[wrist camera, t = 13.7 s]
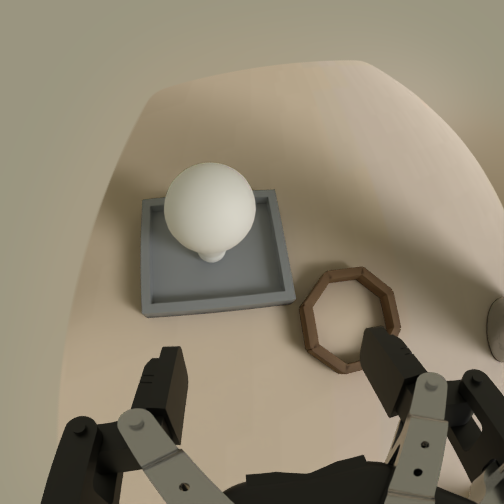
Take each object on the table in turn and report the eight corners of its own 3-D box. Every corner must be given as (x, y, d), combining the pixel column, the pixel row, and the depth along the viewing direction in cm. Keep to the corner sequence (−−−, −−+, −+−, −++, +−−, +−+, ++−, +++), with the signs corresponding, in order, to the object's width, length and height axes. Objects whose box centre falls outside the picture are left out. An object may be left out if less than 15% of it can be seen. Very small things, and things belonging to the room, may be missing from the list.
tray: (271, 200, 30) (274, 189, 28) (290, 303, 26) (296, 298, 24) (146, 210, 28) (142, 199, 27) (147, 317, 24) (141, 313, 23)
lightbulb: (207, 211, 28) (204, 130, 18) (258, 248, 27) (281, 176, 17) (165, 257, 26) (135, 188, 16) (216, 299, 25) (215, 249, 15)
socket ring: (379, 268, 29) (385, 263, 27) (398, 357, 25) (406, 356, 24) (293, 279, 27) (297, 274, 26) (310, 380, 24) (315, 381, 22)
